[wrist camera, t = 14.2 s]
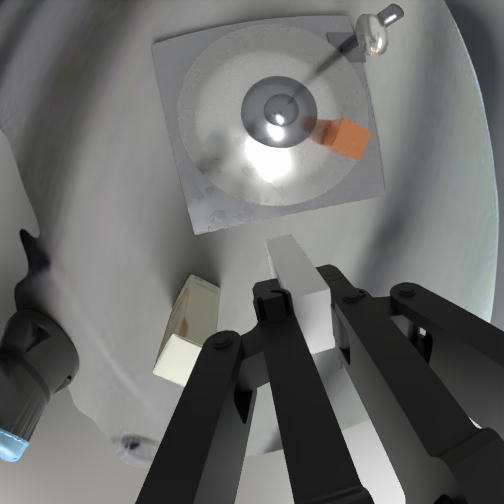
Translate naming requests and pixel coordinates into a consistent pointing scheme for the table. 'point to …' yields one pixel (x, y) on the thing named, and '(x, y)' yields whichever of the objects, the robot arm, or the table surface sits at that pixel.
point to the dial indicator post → (366, 35)
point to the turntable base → (205, 192)
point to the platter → (242, 145)
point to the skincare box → (188, 329)
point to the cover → (278, 112)
